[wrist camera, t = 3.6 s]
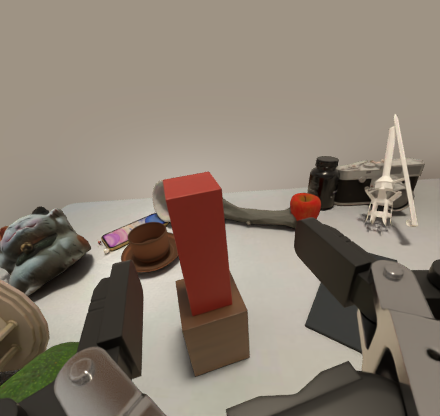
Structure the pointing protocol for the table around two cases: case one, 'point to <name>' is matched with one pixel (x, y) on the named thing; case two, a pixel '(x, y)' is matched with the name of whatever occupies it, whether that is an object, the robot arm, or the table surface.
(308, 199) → the apple
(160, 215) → the mug
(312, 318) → the mat
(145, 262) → the cup and saucer
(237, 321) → the brown block
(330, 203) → the supplement bottle
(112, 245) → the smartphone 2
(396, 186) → the camera
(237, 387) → the table surface
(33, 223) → the lucky cat figurine
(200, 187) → the red block
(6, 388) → the fruit
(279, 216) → the bone
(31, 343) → the miniature windmill
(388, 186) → the miniature sculpture
